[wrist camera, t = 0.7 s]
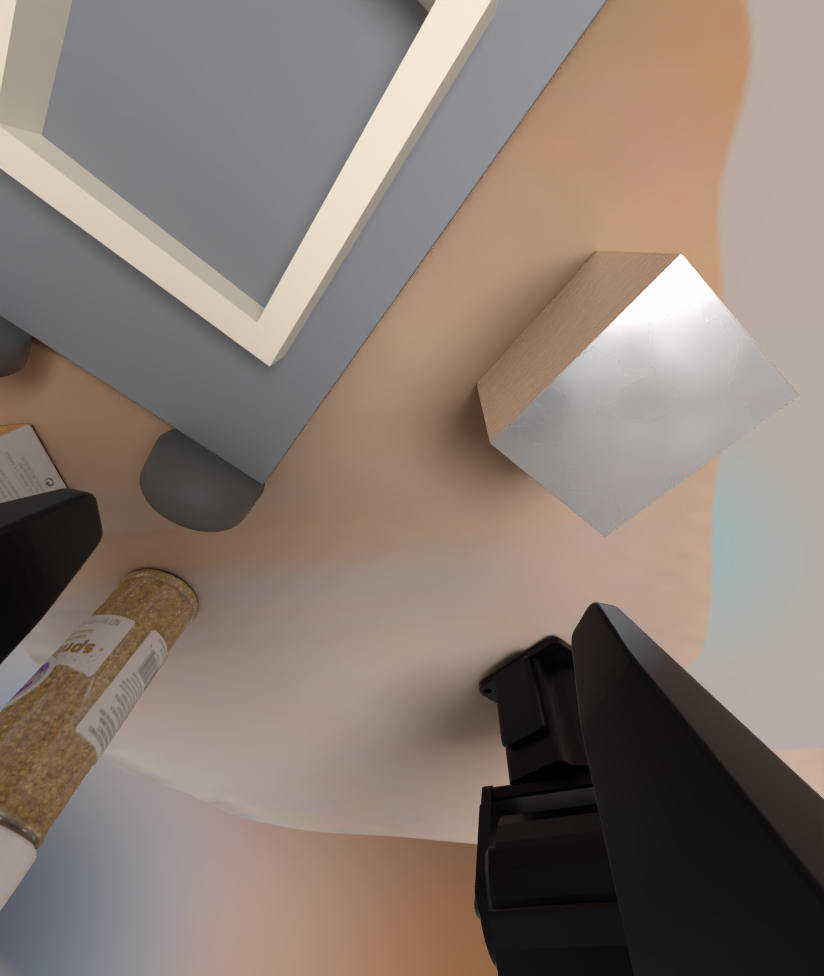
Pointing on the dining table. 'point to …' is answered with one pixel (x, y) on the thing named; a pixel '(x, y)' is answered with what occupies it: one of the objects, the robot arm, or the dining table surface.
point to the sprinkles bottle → (80, 708)
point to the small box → (24, 464)
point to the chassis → (242, 198)
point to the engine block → (627, 386)
